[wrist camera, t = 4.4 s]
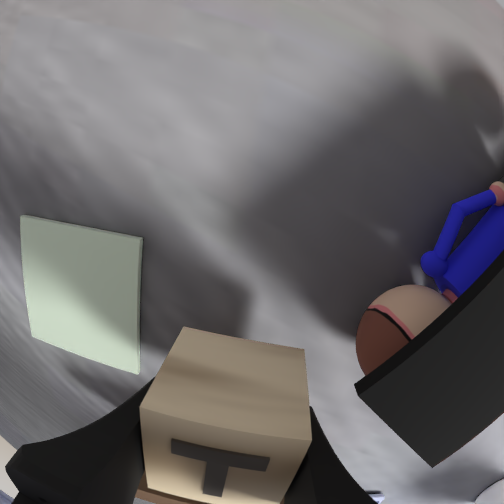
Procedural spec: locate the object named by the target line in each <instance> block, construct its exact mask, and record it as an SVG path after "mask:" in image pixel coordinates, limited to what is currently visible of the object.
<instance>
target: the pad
mask: <svg viewBox="0 0 504 504" xmlns="http://www.w3.org/2000/svg"><path fill="white" fill-rule="evenodd" d="M20 235H21V254H22V267H23V277H24V287H25V295H26V302H27V309H28V316H29V322H30V327H31V333H32V337H35V338H37V339H39V340H42V341H44V342H46V343H49V344H51V345H54V346H56V347H59V348H61V349H64V350H67V351H69V352H72V353H74V354H77V355H80V356H83V357H85V358H88V359H91V360H94V361H97V362H100V363H103V364H106V365H109V366H112V367H115V368H118V369H121V370H124V371H127V372H131V373H134V374H137V375H138V374H139V372H140V286H141V263H142V246H143V238H142V237H137V236H132V235H126V234H121V233H116V232H111V231H106V230H101V229H95V228H90V227H85V226H80V225H75V224H70V223H64V222H59V221H54V220H49V219H44V218H39V217H34V216H29V215H22V216H20Z"/></svg>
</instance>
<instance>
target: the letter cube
mask: <svg viewBox="0 0 504 504" xmlns="http://www.w3.org/2000/svg"><path fill="white" fill-rule="evenodd" d="M139 408H140V421H141V433H142V443H143V453H144V462H145V470H146V477H147V485H148V488H151V489H154V490H157V491H161V492H165V493H168V494H172V495H176V496H180V497H184V498H188V499H192V500H197V501H201V502H206V503H211V504H280V502H281V501H282V499H283V497H284V495H285V493H286V491H287V490H288V488H289V486H290V484H291V482H292V480H293V478H294V476H295V474H296V472H297V470H298V468H299V466H300V464H301V462H302V460H303V458H304V456H305V454H306V452H307V450H308V448H309V446H310V444H311V442H312V433H311V420H310V408H309V396H308V384H307V373H306V363H305V352H304V349H300V348H293V347H287V346H281V345H275V344H269V343H263V342H258V341H252V340H247V339H242V338H236V337H231V336H226V335H221V334H216V333H212V332H207V331H202V330H198V329H193V328H189V327H184V326H183V328H182V330H181V332H180V334H179V335H178V337H177V339H176V341H175V343H174V344H173V346H172V348H171V350H170V352H169V353H168V355H167V357H166V359H165V361H164V363H163V364H162V366H161V368H160V370H159V372H158V374H157V375H156V377H155V379H154V381H153V383H152V385H151V386H150V388H149V390H148V392H147V394H146V396H145V397H144V399H143V401H142V403H141V405H140V407H139Z"/></svg>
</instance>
